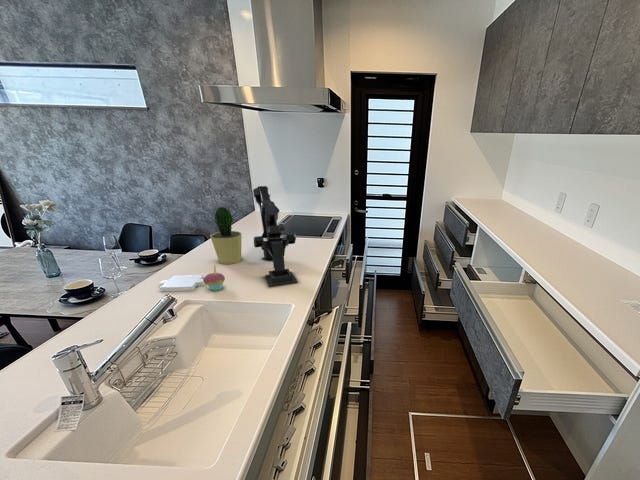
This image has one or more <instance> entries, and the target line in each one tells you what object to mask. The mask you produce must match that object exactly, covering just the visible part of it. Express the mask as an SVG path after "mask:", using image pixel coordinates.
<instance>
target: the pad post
mask: <svg viewBox="0 0 640 480" xmlns="http://www.w3.org/2000/svg"><path fill="white" fill-rule="evenodd" d="M271 247H272V252H273V260H272V266H273V270H275V271H278V270H285V269H286V267H285V265H286V264H285V253H284V254H283V243H282V241H281V240H280V241H271Z"/></svg>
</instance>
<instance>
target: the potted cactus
mask: <svg viewBox="0 0 640 480" xmlns="http://www.w3.org/2000/svg"><path fill="white" fill-rule="evenodd" d="M213 219H214V223H215V224H216V226H217V227H216V229H217V232H214V233H212V234H210V235H209V237H210V239H211V242H212V245H213V248H214V251H215V254H216V257H217V259H218V262H219V263H220V264H221V265H222V264H223V265H232V264H237V263H240V262H241V261H242V235H243V234H242V232H240V231H235V230H233V227H232V226H233V224H234V223H235V222H234V220H235V217H233V211H231V209H228V207H224V206H219V207H216V210H214V218H213Z"/></svg>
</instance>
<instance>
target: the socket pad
mask: <svg viewBox="0 0 640 480" xmlns="http://www.w3.org/2000/svg"><path fill="white" fill-rule="evenodd" d="M264 278H265V280H266V283H267V286H268V288H274V287H281V286H287V285H292V284H298V279H297V278H296V276H295V274H294V273H293V271H291V270H290V269H289V268H285V270H278V271H275V269H273V270H268V274H265V275H264Z"/></svg>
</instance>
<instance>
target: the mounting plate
mask: <svg viewBox="0 0 640 480" xmlns="http://www.w3.org/2000/svg"><path fill="white" fill-rule="evenodd" d="M204 277H205V276H204V275H203V274H198V275H197V274H195V275H173V276H171V278H169V279H164V280H161V281H160V282H159V284H160V286H159V290H160V292H191V291H192V292H193V291H194V290H195V289H196V288H197V287H202V286H204V285H206V284H205V283H204V282H203V279H204Z"/></svg>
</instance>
